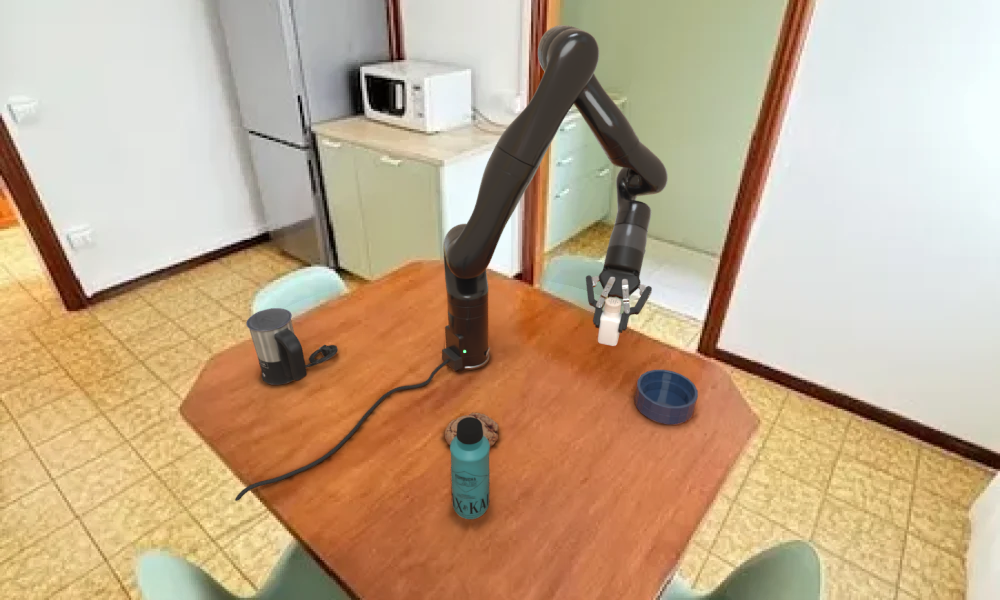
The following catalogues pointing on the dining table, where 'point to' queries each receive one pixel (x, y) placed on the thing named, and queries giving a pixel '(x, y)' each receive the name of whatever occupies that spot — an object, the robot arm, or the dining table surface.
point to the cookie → (487, 424)
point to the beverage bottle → (470, 469)
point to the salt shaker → (610, 322)
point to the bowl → (665, 396)
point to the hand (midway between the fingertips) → (608, 329)
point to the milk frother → (281, 347)
